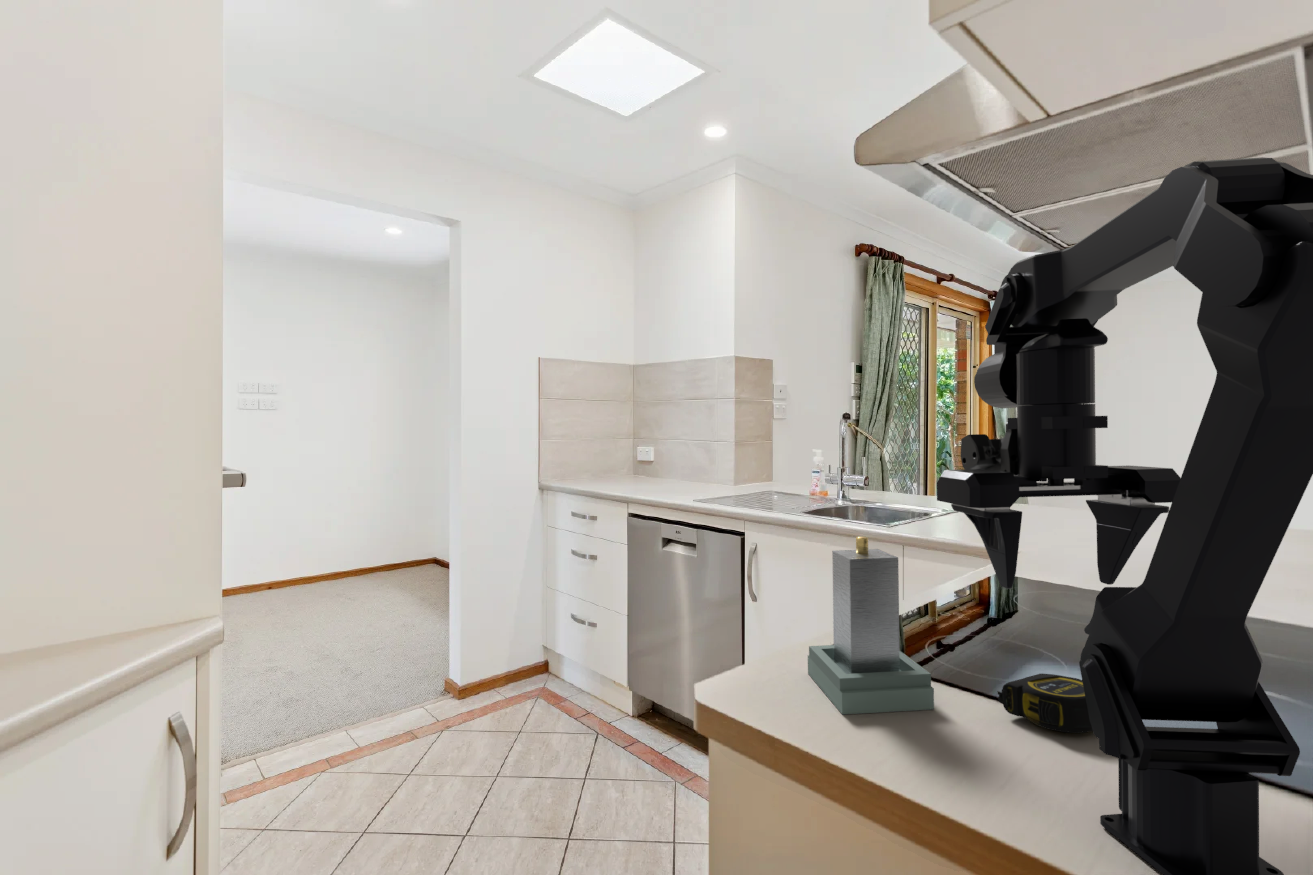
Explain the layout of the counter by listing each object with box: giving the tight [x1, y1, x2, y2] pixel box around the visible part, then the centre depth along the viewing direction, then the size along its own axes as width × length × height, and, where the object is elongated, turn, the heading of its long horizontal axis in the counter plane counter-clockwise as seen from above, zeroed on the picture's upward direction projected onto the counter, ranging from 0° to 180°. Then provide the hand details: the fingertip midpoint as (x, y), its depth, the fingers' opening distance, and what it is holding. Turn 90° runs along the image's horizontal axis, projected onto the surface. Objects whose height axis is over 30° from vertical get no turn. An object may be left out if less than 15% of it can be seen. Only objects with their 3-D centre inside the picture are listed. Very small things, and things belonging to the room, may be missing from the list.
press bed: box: [807, 644, 935, 715], centre depth 65 cm, size 10×9×3 cm
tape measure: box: [996, 673, 1093, 734], centre depth 57 cm, size 7×7×4 cm
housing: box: [831, 536, 900, 674], centre depth 64 cm, size 4×5×14 cm
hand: (1056, 585), depth 54 cm, fingers open, 9 cm apart
